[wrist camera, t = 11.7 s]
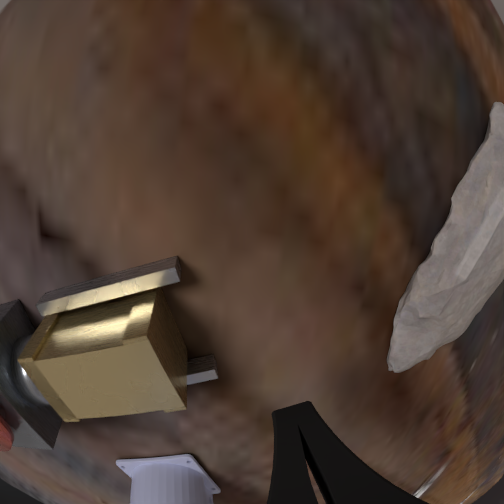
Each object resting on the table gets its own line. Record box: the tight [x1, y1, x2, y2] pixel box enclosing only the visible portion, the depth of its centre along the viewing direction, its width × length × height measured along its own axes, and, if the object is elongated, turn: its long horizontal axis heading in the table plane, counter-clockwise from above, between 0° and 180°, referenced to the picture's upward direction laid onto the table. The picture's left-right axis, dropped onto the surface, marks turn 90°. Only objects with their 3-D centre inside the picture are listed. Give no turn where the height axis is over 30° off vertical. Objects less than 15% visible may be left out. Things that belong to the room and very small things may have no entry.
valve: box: [0, 256, 218, 451], centre depth 14 cm, size 8×22×7 cm, turn 102°
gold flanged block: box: [17, 287, 188, 422], centre depth 15 cm, size 5×8×5 cm, turn 103°
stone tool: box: [387, 102, 504, 373], centre depth 16 cm, size 12×5×25 cm
